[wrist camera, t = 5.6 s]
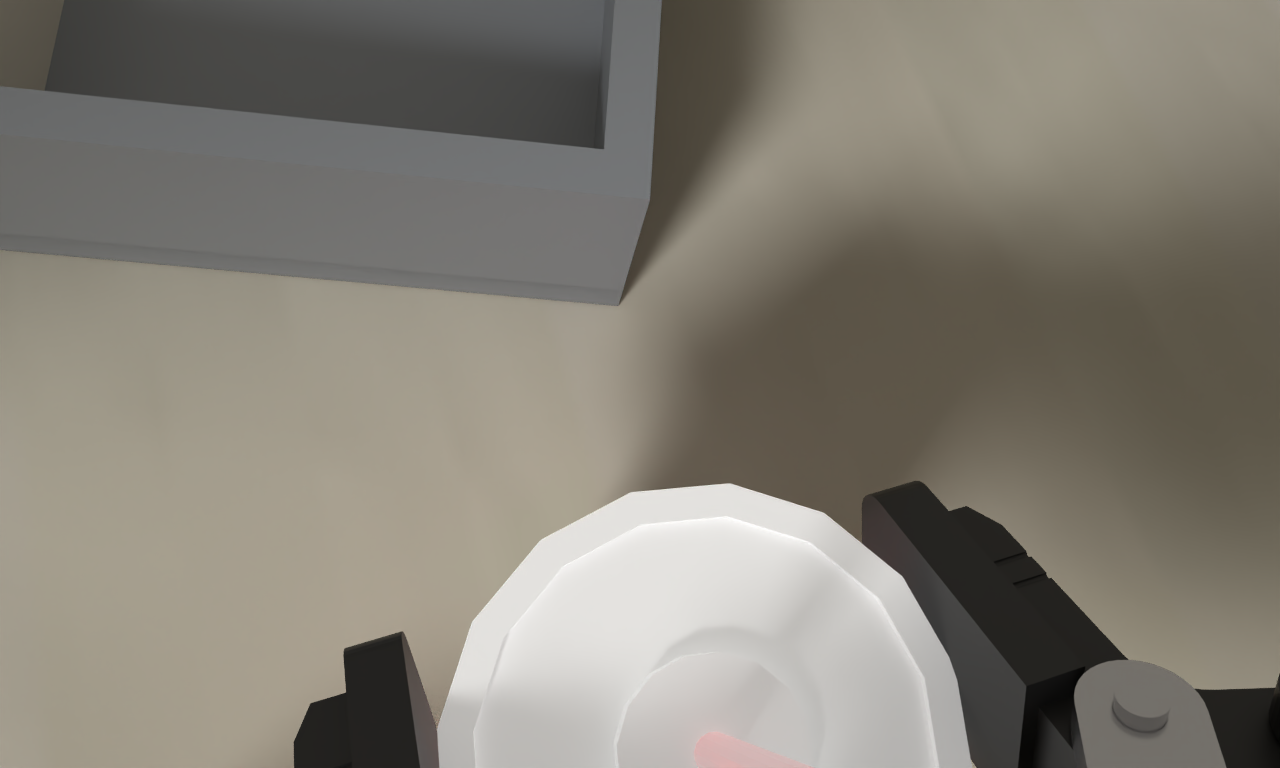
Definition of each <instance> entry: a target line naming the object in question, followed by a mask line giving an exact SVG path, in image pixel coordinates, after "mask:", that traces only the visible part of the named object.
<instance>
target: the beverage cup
mask: <svg viewBox="0 0 1280 768" xmlns="http://www.w3.org/2000/svg"><path fill="white" fill-rule="evenodd" d="M437 736H438V753H439V768H972V764H971V758H970V752H969V747H968V741H967V735H966V729H965V723H964V717H963V711H962V705H961V699H960V694H959V688H958V682H957V678H956V675H955V673H954V670H953V667H952V664H951V661H950V658H949V656H948V654H947V653H946V651H945V649H944V648H943V646H942V644H941V642H940V641H939V639H938V637H937V635H936V634H935V632H934V630H933V628H932V627H931V625H930V623H929V622H928V620H927V618H926V616H925V615H924V613H923V611H922V609H921V608H920V606H919V604H918V602H917V601H916V599H915V597H914V596H913V594H912V592H911V590H910V589H909V587H908V585H907V583H906V582H905V580H904V578H903V577H902V576H901V575H900V574H899V573H897V572H896V571H895V570H894V569H893V568H891V567H890V566H889V565H888V564H886V563H885V562H884V561H883V560H881V559H880V558H879V557H878V556H877V555H875V554H874V553H873V552H872V551H870V550H869V549H868V548H867V547H865V546H864V545H863V544H862V543H861V542H859V541H858V540H857V539H856V538H854V537H853V536H852V535H851V534H849V533H848V532H847V531H846V530H845V529H843V528H842V527H841V526H840V525H838V524H837V523H836V522H835V521H834V520H832V519H831V518H830V517H829V516H827V515H826V514H825V513H823V512H820V511H817V510H813V509H810V508H807V507H804V506H801V505H797V504H794V503H791V502H788V501H785V500H781V499H778V498H775V497H772V496H769V495H765V494H762V493H759V492H756V491H753V490H749V489H746V488H743V487H740V486H737V485H733V484H730V483H728V484H717V485H705V486H694V487H683V488H672V489H661V490H650V491H639V492H630V493H629V494H627V495H625V496H623V497H621V498H619V499H617V500H615V501H613V502H611V503H610V504H608V505H606V506H604V507H602V508H600V509H598V510H596V511H594V512H593V513H591V514H589V515H587V516H585V517H583V518H581V519H579V520H577V521H576V522H574V523H572V524H570V525H568V526H566V527H564V528H562V529H560V530H558V531H557V532H555V533H553V534H551V535H549V536H547V537H545V538H543V539H541V540H540V541H539V543H538V544H537V545H536V546H535V547H534V549H533V550H532V551H531V552H530V553H529V555H528V556H527V557H526V558H525V559H524V560H523V562H522V563H521V564H520V565H519V566H518V568H517V569H516V570H515V571H514V572H513V574H512V575H511V576H510V577H509V578H508V580H507V581H506V582H505V583H504V584H503V586H502V587H501V588H500V589H499V590H498V592H497V593H496V594H495V595H494V596H493V598H492V599H491V600H490V601H489V602H488V604H487V605H486V606H485V607H484V608H483V610H482V611H481V612H480V613H479V614H478V616H477V617H476V618H475V619H474V620H473V622H472V624H471V627H470V630H469V633H468V636H467V639H466V642H465V645H464V648H463V651H462V654H461V657H460V660H459V664H458V667H457V670H456V673H455V676H454V679H453V682H452V685H451V688H450V691H449V694H448V697H447V700H446V703H445V706H444V709H443V712H442V715H441V718H440V722H439V725H438V728H437Z"/></svg>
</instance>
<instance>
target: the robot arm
mask: <svg viewBox="0 0 1280 768" xmlns="http://www.w3.org/2000/svg"><path fill="white" fill-rule="evenodd" d="M862 544H863V545H864V546H865V547H867V548H868V549H869V550H870V551H872V552H873V553H874V554H875V555H877V556H878V557H879V558H880V559H881V560H883V561H884V562H885V563H886V564H888V565H889V566H890V567H891V568H893V569H894V570H895V571H896V572H897V573H899V574H900V575H901V576H902V577H903V578H904V580H905V582H906V583H907V585H908V587H909V589H910V590H911V592H912V594H913V596H914V597H915V599H916V601H917V602H918V604H919V606H920V608H921V609H922V611H923V613H924V615H925V616H926V618H927V620H928V622H929V623H930V625H931V627H932V628H933V630H934V632H935V634H936V635H937V637H938V639H939V641H940V642H941V644H942V646H943V648H944V649H945V651H946V653H947V654H948V656H949V658H950V661H951V664H952V667H953V670H954V673H955V675H956V678H957V682H958V688H959V694H960V699H961V705H962V711H963V717H964V723H965V729H966V735H967V741H968V747H969V752H970V758H971V760H972V762H973V763H974V764H975V766H976V767H977V768H1280V675H1279V677H1278V681H1277V684H1276V688H1257V689H1227V690H1201V689H1194V688H1193V687H1192V686H1191V685H1190V684H1188V683H1187V682H1186V681H1185V680H1184V679H1182V678H1181V677H1179V676H1177V675H1176V674H1174V673H1173V672H1171V671H1168V670H1166V669H1164V668H1162V667H1159V666H1156V665H1153V664H1150V663H1146V662H1141V661H1134V660H1128V659H1127V658H1126V657H1125V656H1124V655H1123V654H1122V653H1121V652H1120V651H1119V650H1118V649H1117V648H1116V647H1115V646H1114V645H1113V643H1112V642H1111V641H1110V640H1109V639H1108V638H1107V637H1106V636H1105V635H1104V634H1103V633H1102V632H1101V631H1100V630H1099V629H1098V627H1097V626H1096V625H1095V624H1094V623H1093V622H1092V621H1091V620H1090V619H1089V618H1088V617H1087V616H1086V615H1085V614H1084V612H1083V611H1082V610H1081V609H1080V608H1079V607H1078V606H1077V605H1076V604H1075V603H1074V602H1073V601H1072V600H1071V599H1070V597H1069V596H1068V595H1067V594H1066V593H1065V592H1064V591H1063V590H1062V589H1061V588H1060V587H1059V586H1058V585H1057V584H1056V582H1055V581H1054V580H1053V579H1052V578H1048V577H1047V575H1046V572H1045V571H1044V570H1043V569H1042V568H1041V566H1040V565H1039V564H1038V563H1037V562H1036V561H1035V560H1034V559H1033V558H1032V557H1028V556H1027V553H1026V550H1025V549H1024V548H1023V547H1022V546H1021V545H1020V544H1019V543H1018V542H1017V541H1016V540H1015V539H1014V538H1013V536H1012V535H1011V534H1010V533H1009V532H1008V531H1007V530H1006V529H1005V528H1004V527H1003V526H1002V525H1001V524H999V523H997V522H995V521H993V520H991V519H990V518H988V517H986V516H984V515H982V514H980V513H978V512H976V511H975V510H973V509H971V508H969V507H967V506H965V507H962V508H958V509H955V510H952V511H948V510H947V509H946V508H945V506H944V505H943V504H942V503H941V502H940V501H939V500H938V499H937V497H936V496H935V495H934V494H933V493H932V492H931V491H930V489H929V488H928V487H927V486H926V485H925V484H923V483H922V482H920V481H913V482H910V483H907V484H903V485H900V486H896V487H893V488H890V489H886V490H883V491H880V492H876V493H873V494H869V495H867V496H865V497H864V499H863V503H862ZM344 668H345V681H346V693H344V694H340V695H337V696H334V697H330V698H327V699H324V700H321V701H317V702H314V703H311V704H310V706H309V708H308V711H307V713H306V715H305V717H304V720H303V722H302V724H301V727H300V729H299V731H298V734H297V736H296V738H295V740H294V768H439V753H438V736H437V730H436V726H435V722H434V719H433V716H432V712H431V709H430V706H429V703H428V700H427V698H426V695H425V692H424V689H423V686H422V683H421V680H420V677H419V674H418V671H417V668H416V665H415V662H414V659H413V656H412V653H411V651H410V648H409V645H408V642H407V639H406V637H405V634H404V633H403V632H398V633H395V634H392V635H388V636H385V637H382V638H378V639H375V640H371V641H368V642H365V643H361V644H358V645H355V646H351V647H348V648H345V649H344Z"/></svg>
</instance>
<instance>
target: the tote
mask: <svg viewBox="0 0 1280 768" xmlns="http://www.w3.org/2000/svg"><path fill="white" fill-rule="evenodd" d="M661 6H662V0H64V4H63V8H62V13H61V17H60V22H59V27H58V31H57V36H56V40H55V45H54V49H53V54H52V58H51V63H50V68H49V72H48V77H47V81H46V86H45V90H44V91H41V90H32V89H22V88H13V87H3V86H0V250H9V251H20V252H31V253H42V254H53V255H64V256H75V257H86V258H97V259H108V260H119V261H130V262H141V263H152V264H163V265H174V266H185V267H196V268H207V269H218V270H229V271H240V272H251V273H262V274H273V275H284V276H295V277H306V278H317V279H328V280H339V281H350V282H361V283H372V284H383V285H394V286H405V287H416V288H427V289H438V290H449V291H460V292H471V293H482V294H493V295H504V296H515V297H526V298H537V299H548V300H559V301H570V302H581V303H592V304H603V305H614V306H618V305H619V302H620V298H621V295H622V292H623V288H624V285H625V282H626V278H627V275H628V272H629V268H630V265H631V262H632V258H633V255H634V252H635V248H636V245H637V241H638V238H639V235H640V231H641V228H642V225H643V221H644V218H645V215H646V211H647V208H648V205H649V201H650V191H651V174H652V157H653V140H654V124H655V107H656V90H657V73H658V56H659V39H660V22H661Z"/></svg>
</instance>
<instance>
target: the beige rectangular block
mask: <svg viewBox="0 0 1280 768" xmlns="http://www.w3.org/2000/svg"><path fill="white" fill-rule="evenodd" d="M63 4H64V0H0V86H3V87H13V88H22V89H32V90H41V91H44V90H45V86H46V81H47V77H48V72H49V68H50V63H51V58H52V54H53V49H54V45H55V40H56V36H57V31H58V27H59V22H60V17H61V13H62V8H63Z"/></svg>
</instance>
